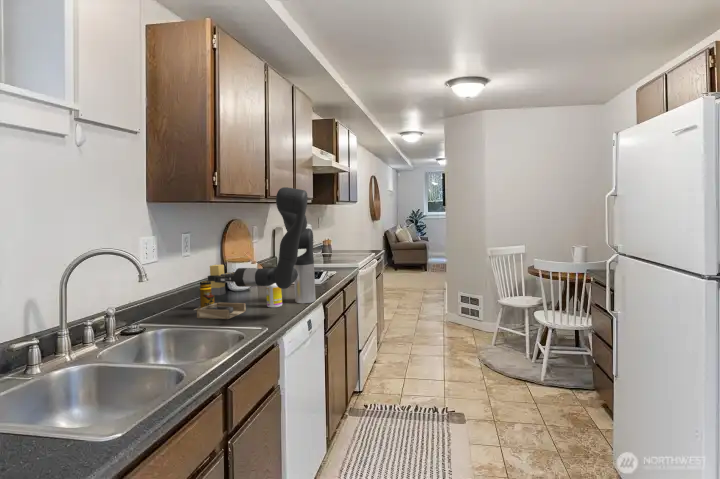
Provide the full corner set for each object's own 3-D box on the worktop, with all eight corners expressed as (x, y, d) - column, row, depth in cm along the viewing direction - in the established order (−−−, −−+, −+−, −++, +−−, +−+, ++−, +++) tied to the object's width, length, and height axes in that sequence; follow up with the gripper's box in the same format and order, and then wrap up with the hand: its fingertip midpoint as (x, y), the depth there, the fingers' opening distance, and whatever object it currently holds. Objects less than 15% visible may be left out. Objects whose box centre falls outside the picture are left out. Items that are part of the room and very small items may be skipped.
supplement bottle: (284, 304, 214) (283, 276, 213) (278, 308, 208) (276, 278, 207) (271, 304, 216) (269, 276, 215) (264, 307, 210) (262, 278, 209)
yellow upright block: (217, 293, 201) (215, 264, 200) (225, 293, 200) (223, 264, 199) (211, 295, 197) (209, 265, 196) (220, 295, 196) (218, 265, 195)
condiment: (212, 309, 210) (210, 282, 209) (193, 310, 210) (191, 283, 209) (218, 306, 217) (216, 279, 216) (199, 306, 218) (198, 280, 217)
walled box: (216, 310, 208) (216, 302, 207) (245, 311, 204) (245, 303, 203) (197, 318, 194) (196, 309, 194) (227, 319, 190) (227, 310, 190)
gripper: (256, 265, 201) (220, 266, 205) (239, 270, 187) (200, 270, 192) (257, 283, 201) (221, 283, 206) (240, 289, 187) (201, 289, 192)
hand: (211, 277), depth 199 cm, fingers closed on yellow upright block, 4 cm apart
